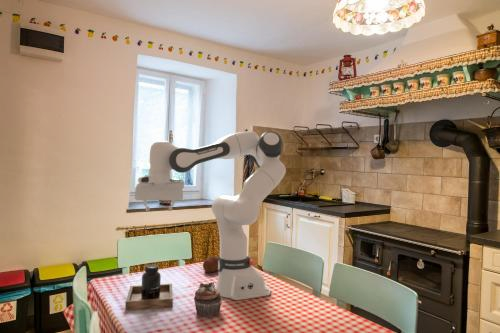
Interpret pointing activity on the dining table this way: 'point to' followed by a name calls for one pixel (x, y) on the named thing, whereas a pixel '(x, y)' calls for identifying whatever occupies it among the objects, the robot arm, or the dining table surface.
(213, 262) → the potato
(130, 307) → the tray
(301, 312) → the dining table surface
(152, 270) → the supplement bottle
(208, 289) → the cupcake
